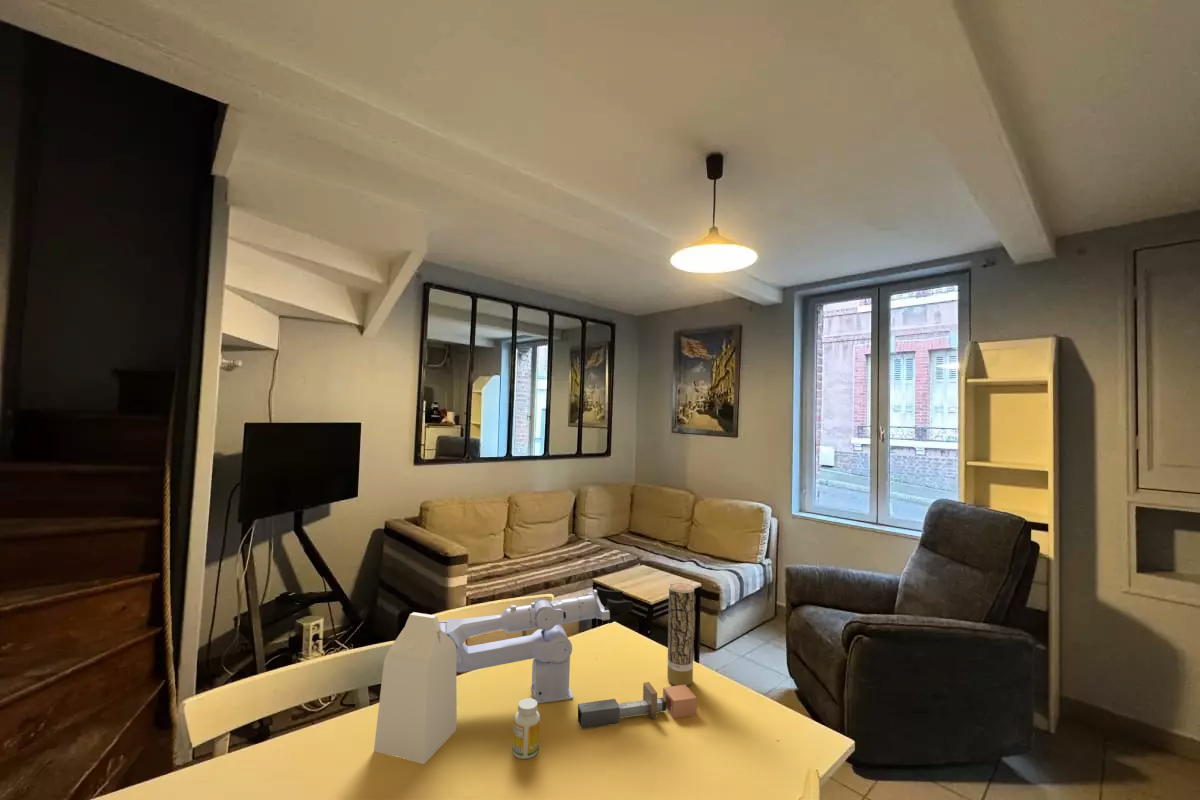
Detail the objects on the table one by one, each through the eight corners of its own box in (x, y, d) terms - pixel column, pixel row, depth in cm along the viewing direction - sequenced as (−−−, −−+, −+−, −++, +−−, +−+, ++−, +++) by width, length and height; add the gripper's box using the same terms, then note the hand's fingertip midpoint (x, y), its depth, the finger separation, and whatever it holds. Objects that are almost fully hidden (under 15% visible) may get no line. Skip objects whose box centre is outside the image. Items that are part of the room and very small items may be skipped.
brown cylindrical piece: (685, 690, 124) (687, 592, 125) (662, 681, 128) (664, 586, 129) (697, 680, 129) (698, 586, 131) (674, 672, 133) (676, 581, 135)
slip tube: (590, 727, 106) (591, 702, 107) (585, 714, 111) (585, 690, 111) (668, 715, 112) (669, 691, 112) (660, 703, 116) (660, 680, 117)
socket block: (673, 718, 111) (673, 700, 112) (662, 704, 117) (663, 687, 117) (696, 715, 113) (696, 697, 113) (684, 701, 119) (685, 684, 119)
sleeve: (581, 729, 106) (581, 712, 107) (577, 719, 110) (578, 703, 110) (619, 723, 109) (619, 707, 109) (614, 714, 112) (614, 698, 113)
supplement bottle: (511, 760, 96) (513, 711, 96) (513, 743, 101) (515, 696, 102) (538, 759, 96) (540, 710, 97) (539, 742, 102) (540, 695, 102)
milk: (456, 729, 105) (462, 609, 107) (424, 764, 94) (431, 629, 96) (410, 719, 108) (416, 602, 110) (373, 751, 97) (381, 621, 99)
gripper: (584, 603, 117) (636, 594, 121) (571, 584, 131) (618, 577, 135) (586, 632, 116) (637, 622, 120) (572, 610, 130) (619, 602, 134)
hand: (627, 600), depth 127 cm, fingers open, 7 cm apart
